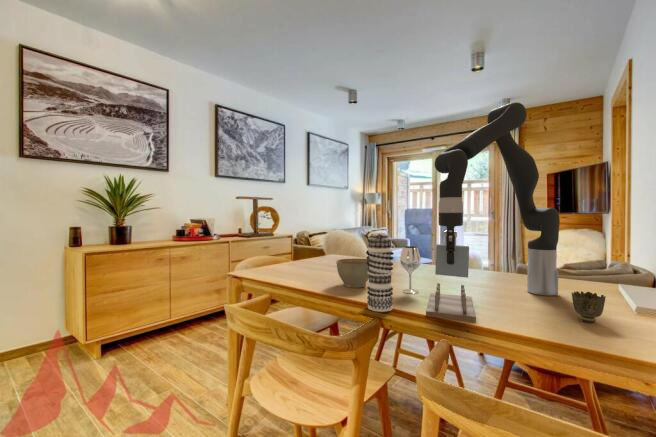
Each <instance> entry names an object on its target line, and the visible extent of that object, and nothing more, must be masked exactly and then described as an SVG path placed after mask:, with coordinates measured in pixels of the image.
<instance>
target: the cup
mask: <svg viewBox="0 0 656 437" xmlns="http://www.w3.org/2000/svg"><path fill="white" fill-rule="evenodd" d="M606 297H607V296H605V295H604V294H601V295H600V296H599V295H598V294H597V293H596V292H594V293H593V292H590V291H586V292H584V291H578V290H574V292H573V291H571V298H572V299H571V300H572V305H573V306H572V307H573V308H574V311H575V312H576V314H578V315H579V319H580V321H582V322H584V323H589V324H592V323H596V322H597V318H598V317H600V316H602V314H603V312H604V307H605V302H606Z"/></svg>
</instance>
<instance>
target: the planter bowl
mask: <svg viewBox="0 0 656 437" xmlns="http://www.w3.org/2000/svg"><path fill="white" fill-rule="evenodd" d="M367 261H368V260H367V259H366V258H342V259H338V260H336V262H335V263H336V270H337V274H338V276H339V278H340V280H341V281H342V283H343V286H344V287H347V288H357V289H358V288H362V287H363V288H364V287H365V286H366V285H367V283H368V281H369V274H368V270H367V267H369V266H368V265H367Z"/></svg>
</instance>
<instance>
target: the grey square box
mask: <svg viewBox="0 0 656 437" xmlns="http://www.w3.org/2000/svg"><path fill="white" fill-rule="evenodd" d="M448 248H453V246H448ZM469 261H470V245H457V244H456V246H455V252H454V264H447V252H446V245H445V244H439V243H438V244H435V273H434V274H435V275H437V276H444V277H445V276H447V277H458V278H469V267H470V266H469V265H470V264H469V263H470V262H469Z"/></svg>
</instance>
